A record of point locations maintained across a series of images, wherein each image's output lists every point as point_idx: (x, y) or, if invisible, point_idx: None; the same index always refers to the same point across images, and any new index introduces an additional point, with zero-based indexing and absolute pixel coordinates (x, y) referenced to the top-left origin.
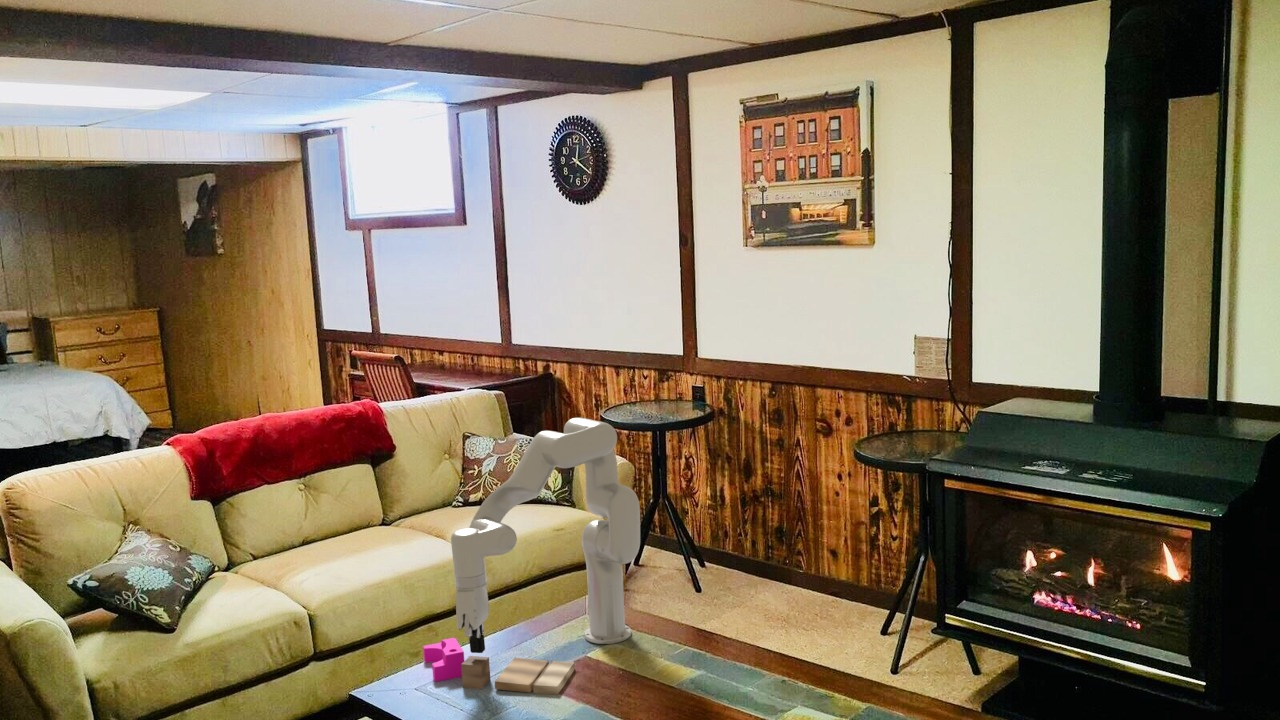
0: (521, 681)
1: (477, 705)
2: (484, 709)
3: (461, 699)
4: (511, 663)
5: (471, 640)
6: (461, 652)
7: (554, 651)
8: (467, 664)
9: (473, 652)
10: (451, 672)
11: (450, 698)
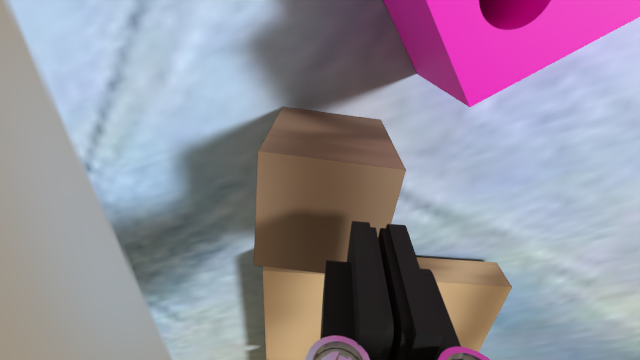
0: (285, 341)
1: (139, 216)
2: (120, 246)
3: (166, 140)
4: (446, 288)
5: (322, 332)
6: (460, 90)
7: (604, 341)
8: (259, 193)
9: (350, 236)
10: (392, 1)
11: (159, 86)
